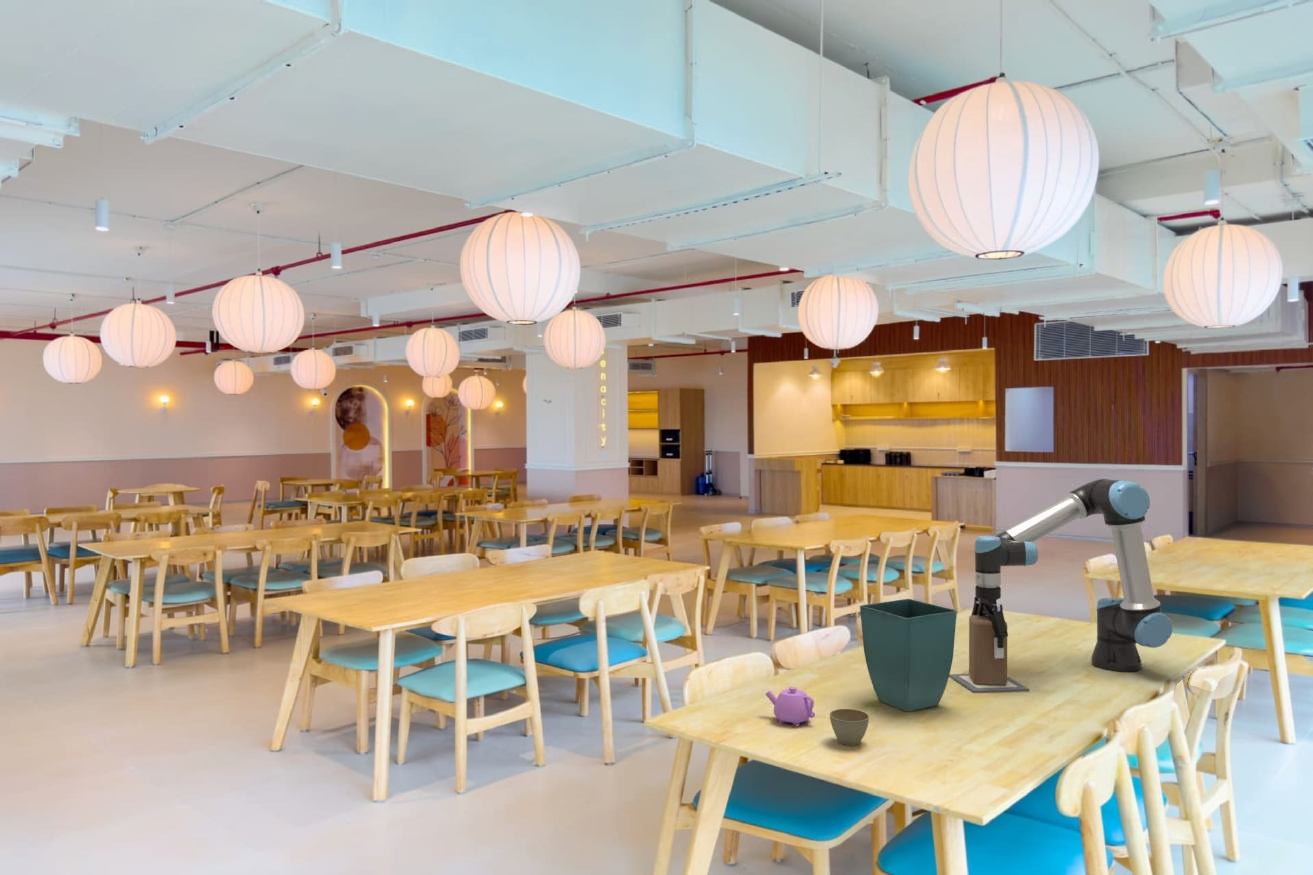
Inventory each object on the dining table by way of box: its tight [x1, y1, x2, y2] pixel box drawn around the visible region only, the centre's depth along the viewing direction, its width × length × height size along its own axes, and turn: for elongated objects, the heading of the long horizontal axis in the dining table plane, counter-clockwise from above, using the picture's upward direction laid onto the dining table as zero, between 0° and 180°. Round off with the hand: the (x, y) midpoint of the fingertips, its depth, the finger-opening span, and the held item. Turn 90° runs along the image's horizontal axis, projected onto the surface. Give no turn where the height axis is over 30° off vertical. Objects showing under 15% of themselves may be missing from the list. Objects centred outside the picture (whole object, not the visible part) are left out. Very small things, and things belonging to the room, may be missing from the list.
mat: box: [949, 673, 1031, 694], centre depth 275 cm, size 18×18×1 cm
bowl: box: [829, 708, 870, 746], centre depth 224 cm, size 10×10×7 cm
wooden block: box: [968, 614, 1008, 686], centre depth 275 cm, size 10×10×20 cm
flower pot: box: [859, 598, 958, 712], centre depth 255 cm, size 20×20×28 cm
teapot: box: [765, 686, 816, 726], centre depth 240 cm, size 10×15×9 cm
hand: (988, 652), depth 275 cm, fingers open, 13 cm apart
